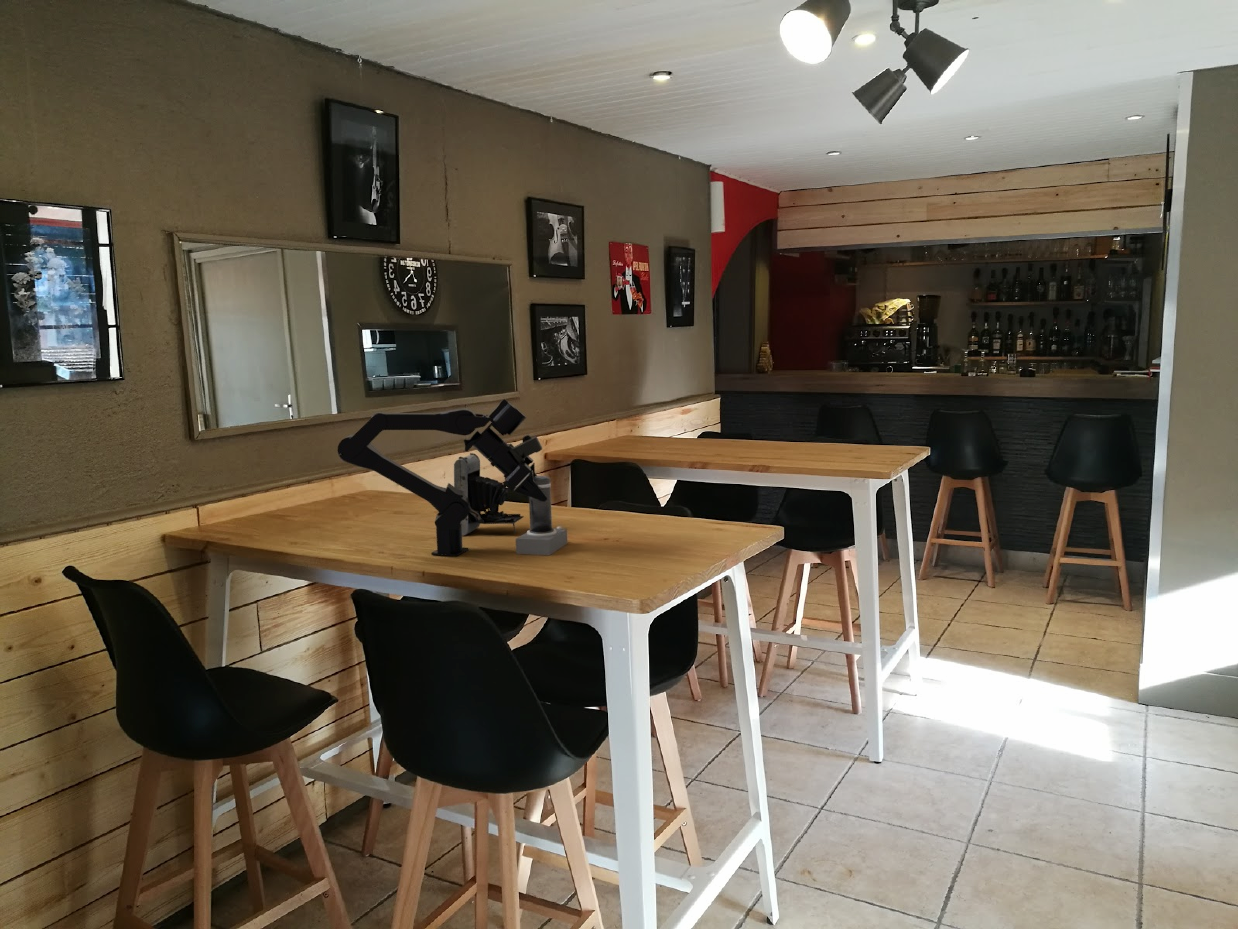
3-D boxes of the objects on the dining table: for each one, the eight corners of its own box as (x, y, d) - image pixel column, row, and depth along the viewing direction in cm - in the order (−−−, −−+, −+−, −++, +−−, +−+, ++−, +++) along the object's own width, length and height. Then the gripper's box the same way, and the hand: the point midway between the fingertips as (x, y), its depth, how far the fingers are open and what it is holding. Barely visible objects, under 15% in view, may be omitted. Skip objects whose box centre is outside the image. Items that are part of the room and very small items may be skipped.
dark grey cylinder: (548, 532, 202) (546, 479, 201) (526, 532, 204) (524, 478, 202) (555, 527, 207) (553, 475, 206) (534, 527, 209) (532, 475, 207)
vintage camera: (513, 539, 219) (513, 459, 216) (453, 536, 222) (452, 456, 219) (524, 531, 228) (524, 454, 226) (467, 528, 231) (467, 452, 228)
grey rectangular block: (549, 555, 199) (548, 536, 199) (516, 553, 202) (515, 534, 201) (567, 543, 211) (566, 525, 210) (535, 542, 213) (535, 524, 212)
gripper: (518, 428, 193) (570, 477, 195) (522, 421, 211) (570, 465, 213) (483, 465, 193) (536, 514, 196) (490, 455, 212) (538, 499, 214)
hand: (546, 496), depth 205 cm, fingers open, 9 cm apart
